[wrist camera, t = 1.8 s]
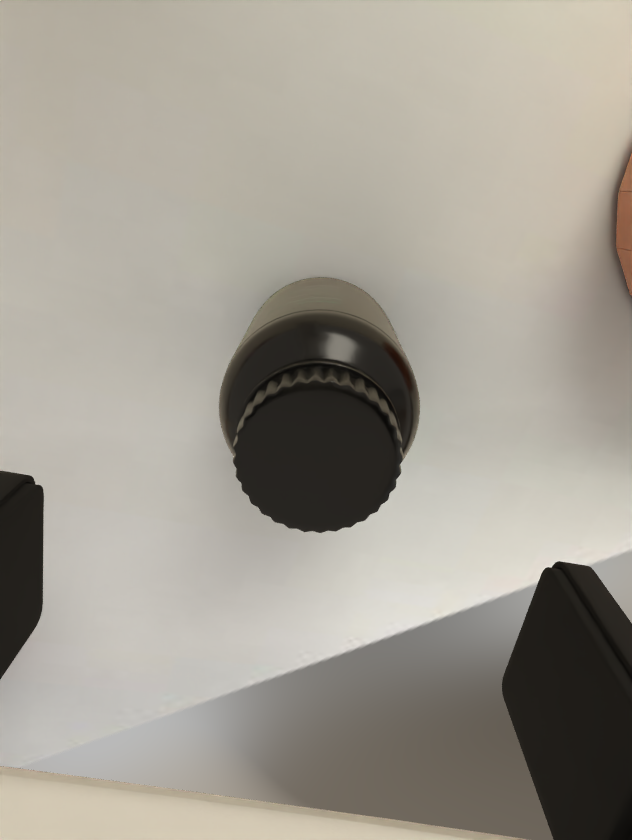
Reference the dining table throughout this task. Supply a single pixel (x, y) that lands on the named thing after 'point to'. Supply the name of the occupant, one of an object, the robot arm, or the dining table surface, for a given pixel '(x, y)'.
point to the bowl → (625, 225)
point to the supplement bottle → (319, 406)
